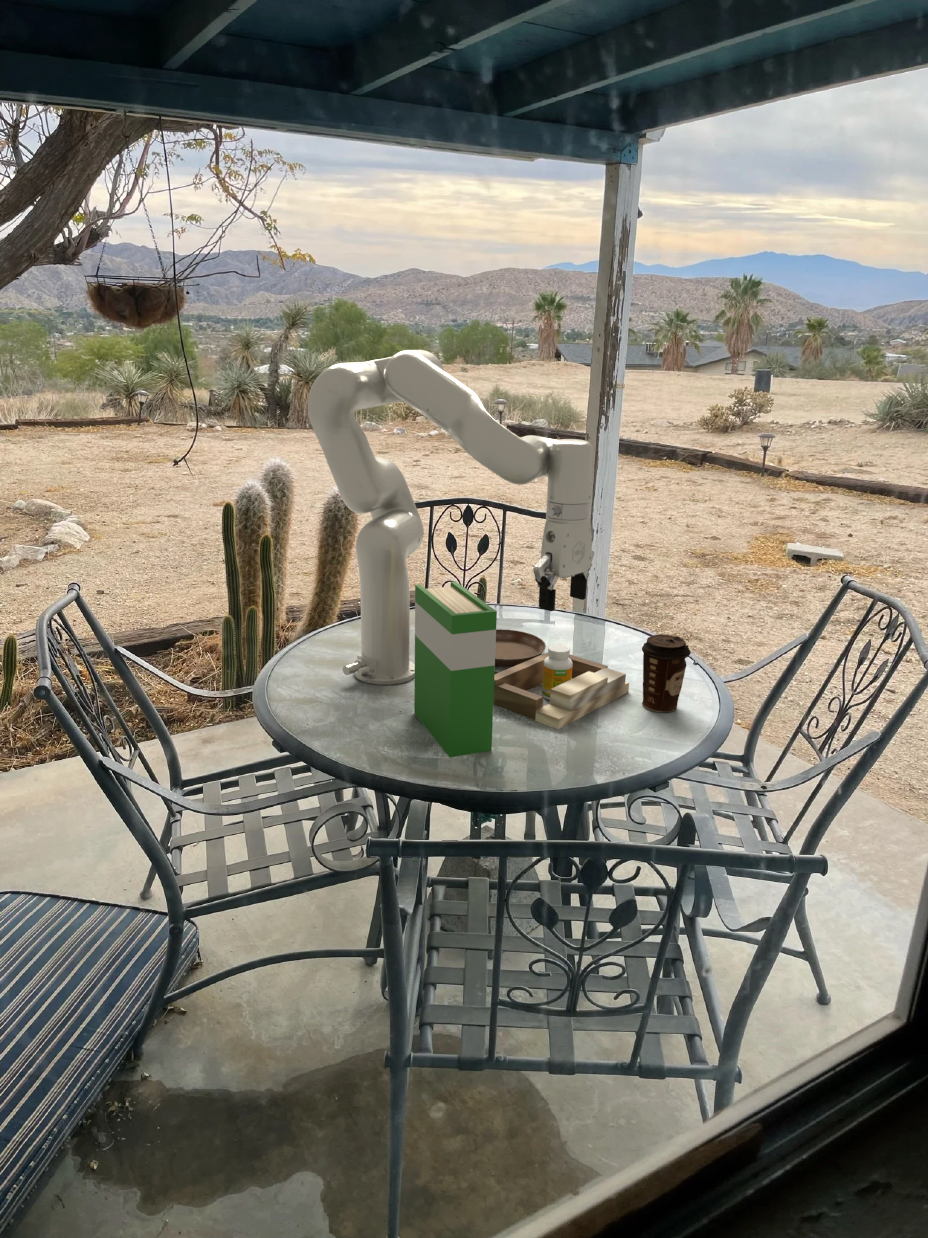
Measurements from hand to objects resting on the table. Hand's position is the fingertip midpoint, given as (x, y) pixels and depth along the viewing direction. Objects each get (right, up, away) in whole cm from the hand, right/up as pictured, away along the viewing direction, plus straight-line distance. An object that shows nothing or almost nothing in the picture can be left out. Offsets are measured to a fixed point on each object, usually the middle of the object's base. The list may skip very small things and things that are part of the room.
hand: (562, 603), depth 155 cm
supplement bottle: (-1, -18, +6) cm, 19 cm away
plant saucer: (-10, -11, +26) cm, 30 cm away
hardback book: (-20, -22, -10) cm, 32 cm away
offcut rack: (-1, -17, +6) cm, 18 cm away
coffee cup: (+18, -19, +3) cm, 27 cm away
